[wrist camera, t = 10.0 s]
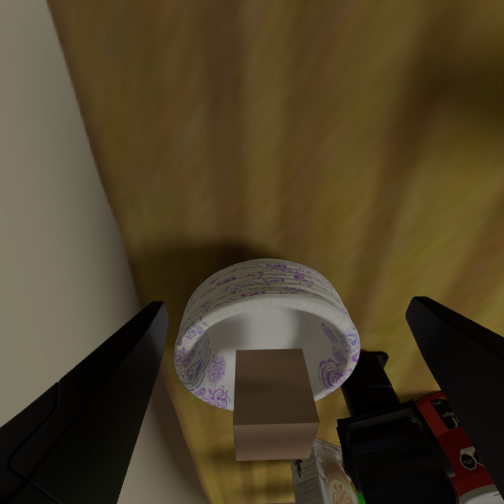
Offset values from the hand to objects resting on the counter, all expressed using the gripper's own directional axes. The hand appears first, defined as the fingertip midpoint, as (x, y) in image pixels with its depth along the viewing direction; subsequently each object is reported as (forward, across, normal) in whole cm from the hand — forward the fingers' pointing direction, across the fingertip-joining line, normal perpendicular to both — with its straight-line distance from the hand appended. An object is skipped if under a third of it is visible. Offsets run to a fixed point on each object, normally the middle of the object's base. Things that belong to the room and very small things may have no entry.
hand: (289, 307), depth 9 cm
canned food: (+13, -28, +34) cm, 46 cm away
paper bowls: (+13, 0, +12) cm, 18 cm away
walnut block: (+5, 0, +12) cm, 13 cm away
